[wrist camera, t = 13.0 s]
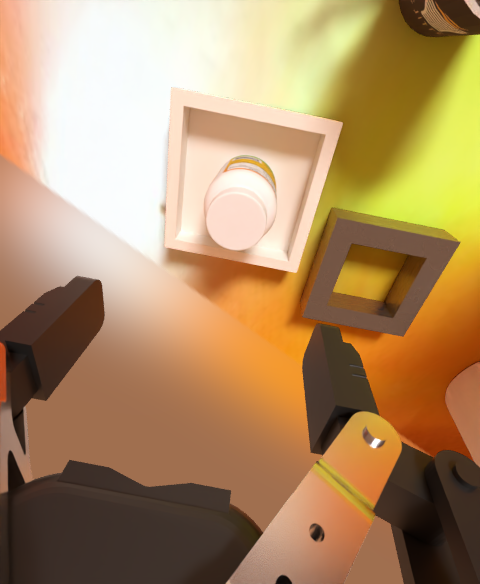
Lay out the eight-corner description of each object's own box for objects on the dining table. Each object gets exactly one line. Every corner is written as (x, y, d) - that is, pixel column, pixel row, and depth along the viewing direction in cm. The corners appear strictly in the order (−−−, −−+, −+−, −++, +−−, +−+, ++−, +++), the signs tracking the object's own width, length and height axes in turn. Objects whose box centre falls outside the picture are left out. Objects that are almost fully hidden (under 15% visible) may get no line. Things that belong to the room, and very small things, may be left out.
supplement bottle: (240, 225, 30) (228, 274, 22) (205, 179, 28) (177, 214, 20) (287, 192, 28) (293, 233, 20) (253, 139, 26) (244, 161, 18)
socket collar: (444, 229, 29) (460, 242, 27) (393, 319, 35) (403, 336, 33) (331, 207, 29) (337, 217, 27) (300, 301, 35) (302, 317, 33)
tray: (336, 120, 25) (343, 122, 23) (294, 259, 32) (296, 272, 30) (181, 88, 25) (171, 87, 23) (172, 235, 32) (164, 247, 30)
